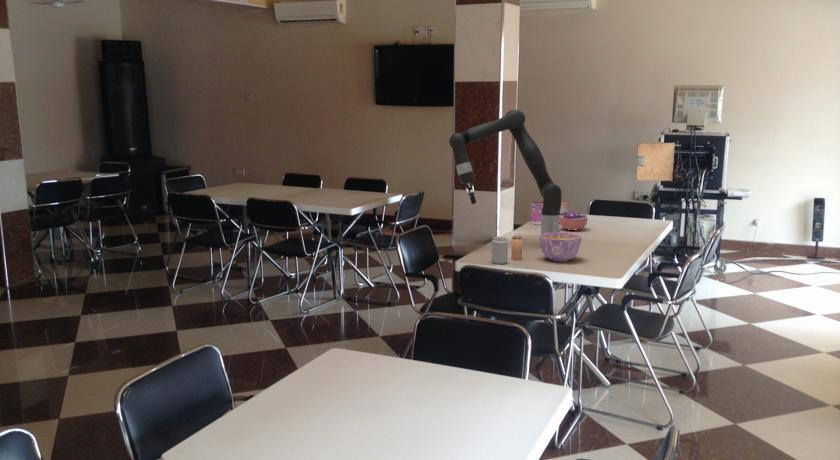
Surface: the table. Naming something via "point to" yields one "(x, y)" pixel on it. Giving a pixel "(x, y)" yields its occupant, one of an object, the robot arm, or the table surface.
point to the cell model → (573, 221)
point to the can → (499, 250)
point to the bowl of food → (560, 245)
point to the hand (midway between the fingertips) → (474, 203)
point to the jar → (516, 248)
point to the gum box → (537, 208)
